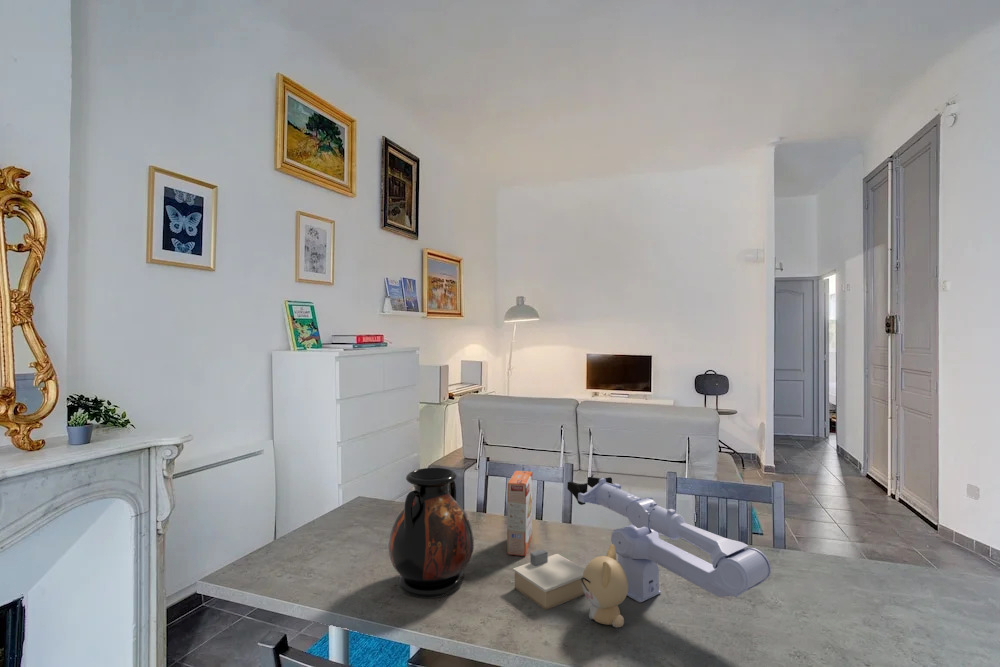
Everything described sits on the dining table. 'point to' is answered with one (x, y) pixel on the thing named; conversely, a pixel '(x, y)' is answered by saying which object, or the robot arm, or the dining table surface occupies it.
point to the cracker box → (519, 513)
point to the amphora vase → (431, 536)
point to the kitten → (605, 588)
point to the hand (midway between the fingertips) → (578, 482)
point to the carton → (550, 597)
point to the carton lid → (549, 570)
